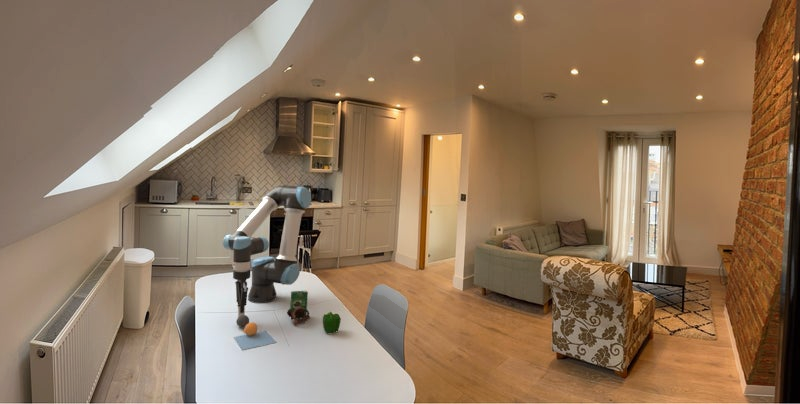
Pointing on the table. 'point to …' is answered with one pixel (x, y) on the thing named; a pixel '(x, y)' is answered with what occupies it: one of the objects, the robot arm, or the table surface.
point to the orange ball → (251, 329)
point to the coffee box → (299, 300)
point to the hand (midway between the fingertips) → (241, 318)
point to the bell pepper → (331, 322)
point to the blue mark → (254, 340)
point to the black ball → (242, 320)
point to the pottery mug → (298, 315)
